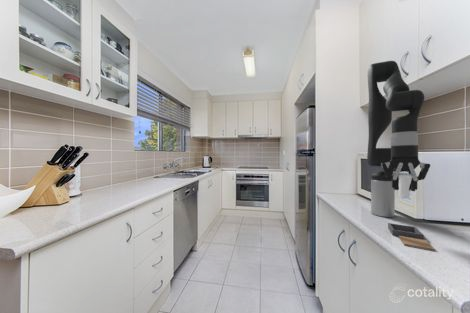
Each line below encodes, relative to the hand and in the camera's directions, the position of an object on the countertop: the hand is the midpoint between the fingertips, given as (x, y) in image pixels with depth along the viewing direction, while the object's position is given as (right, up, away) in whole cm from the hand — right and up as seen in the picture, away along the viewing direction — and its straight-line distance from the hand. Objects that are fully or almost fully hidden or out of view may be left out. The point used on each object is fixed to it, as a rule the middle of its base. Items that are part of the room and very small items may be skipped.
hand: (404, 190), depth 69 cm
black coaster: (0, -16, 0) cm, 16 cm away
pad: (-4, -16, -8) cm, 19 cm away
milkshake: (0, -3, 0) cm, 3 cm away
